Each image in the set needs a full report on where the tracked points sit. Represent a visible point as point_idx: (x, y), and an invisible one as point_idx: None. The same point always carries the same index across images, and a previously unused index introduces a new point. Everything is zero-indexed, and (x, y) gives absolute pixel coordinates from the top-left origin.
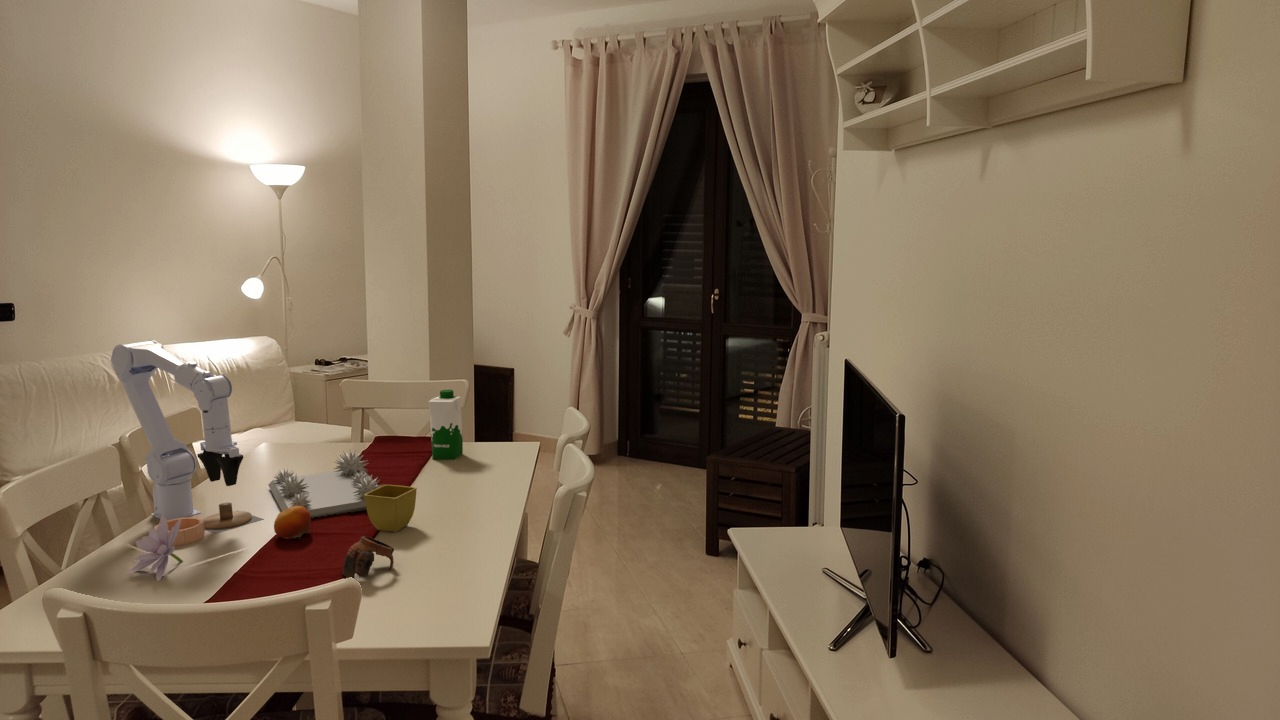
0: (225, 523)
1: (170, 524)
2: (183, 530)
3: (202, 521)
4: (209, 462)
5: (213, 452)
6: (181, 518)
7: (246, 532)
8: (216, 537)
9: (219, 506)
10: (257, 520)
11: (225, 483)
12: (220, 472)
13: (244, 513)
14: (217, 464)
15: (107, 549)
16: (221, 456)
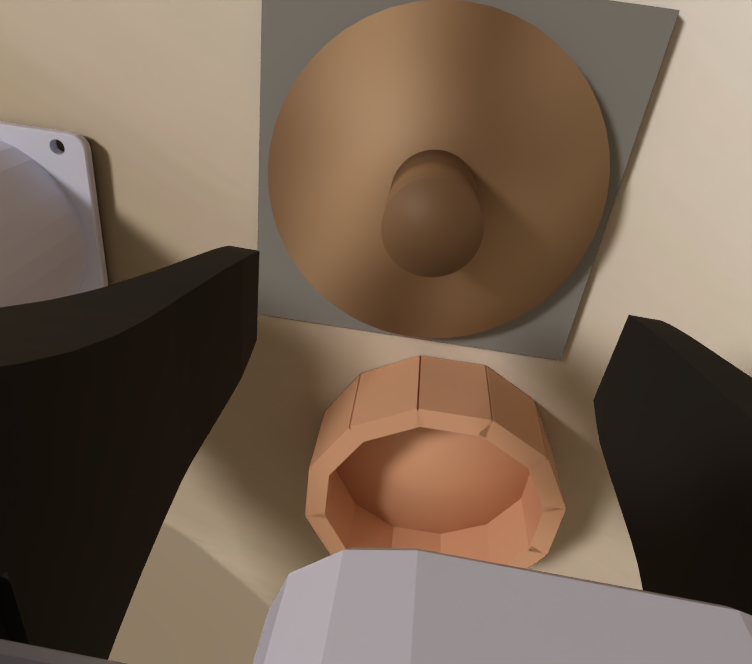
0: (524, 270)
1: (329, 481)
2: (545, 554)
3: (519, 444)
4: (144, 512)
5: (21, 597)
6: (339, 451)
7: (723, 251)
8: (596, 373)
9: (421, 273)
10: (647, 63)
11: (598, 426)
12: (227, 273)
13: (465, 45)
14: (163, 362)
15: (263, 596)
16: (79, 358)
